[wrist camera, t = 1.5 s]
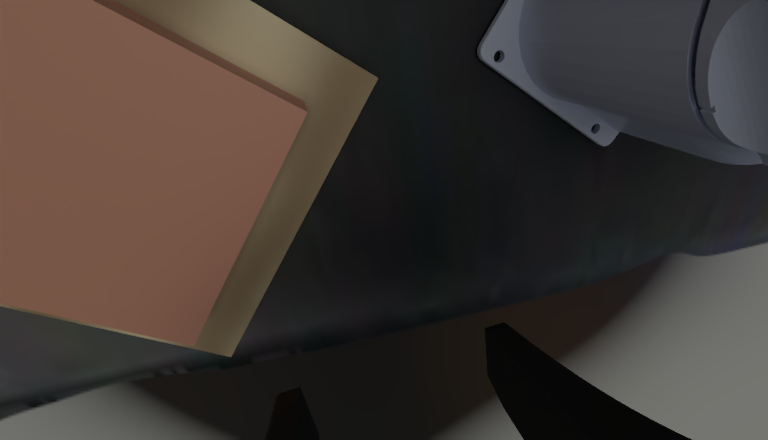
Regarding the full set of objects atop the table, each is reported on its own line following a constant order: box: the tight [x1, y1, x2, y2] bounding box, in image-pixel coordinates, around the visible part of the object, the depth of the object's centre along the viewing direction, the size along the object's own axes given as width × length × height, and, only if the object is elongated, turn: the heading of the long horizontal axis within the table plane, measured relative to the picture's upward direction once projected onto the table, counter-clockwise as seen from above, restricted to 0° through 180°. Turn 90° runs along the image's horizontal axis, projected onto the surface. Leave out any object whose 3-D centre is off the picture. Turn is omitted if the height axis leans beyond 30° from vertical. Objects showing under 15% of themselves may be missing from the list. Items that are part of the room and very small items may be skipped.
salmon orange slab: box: [0, 0, 307, 346], centre depth 13 cm, size 8×10×2 cm
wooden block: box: [0, 0, 378, 357], centre depth 15 cm, size 14×14×3 cm
